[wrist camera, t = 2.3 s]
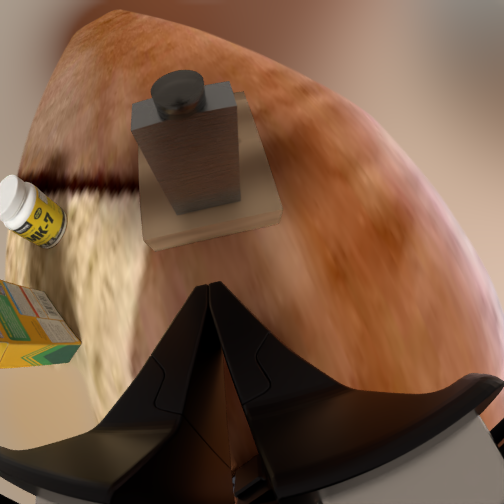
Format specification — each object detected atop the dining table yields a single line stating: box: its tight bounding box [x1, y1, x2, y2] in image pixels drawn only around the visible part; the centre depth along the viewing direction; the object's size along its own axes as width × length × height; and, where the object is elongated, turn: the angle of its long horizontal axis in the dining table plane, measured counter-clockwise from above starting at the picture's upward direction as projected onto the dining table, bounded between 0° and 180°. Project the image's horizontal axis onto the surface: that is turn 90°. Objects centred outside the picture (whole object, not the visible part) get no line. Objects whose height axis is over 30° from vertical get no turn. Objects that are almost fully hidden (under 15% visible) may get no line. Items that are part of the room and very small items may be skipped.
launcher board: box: [138, 91, 283, 252], centre depth 24 cm, size 14×11×3 cm
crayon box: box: [0, 280, 81, 368], centre depth 15 cm, size 7×3×12 cm, turn 51°
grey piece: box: [131, 70, 241, 215], centre depth 16 cm, size 2×5×11 cm, turn 103°
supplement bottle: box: [0, 175, 67, 248], centre depth 19 cm, size 5×5×8 cm
